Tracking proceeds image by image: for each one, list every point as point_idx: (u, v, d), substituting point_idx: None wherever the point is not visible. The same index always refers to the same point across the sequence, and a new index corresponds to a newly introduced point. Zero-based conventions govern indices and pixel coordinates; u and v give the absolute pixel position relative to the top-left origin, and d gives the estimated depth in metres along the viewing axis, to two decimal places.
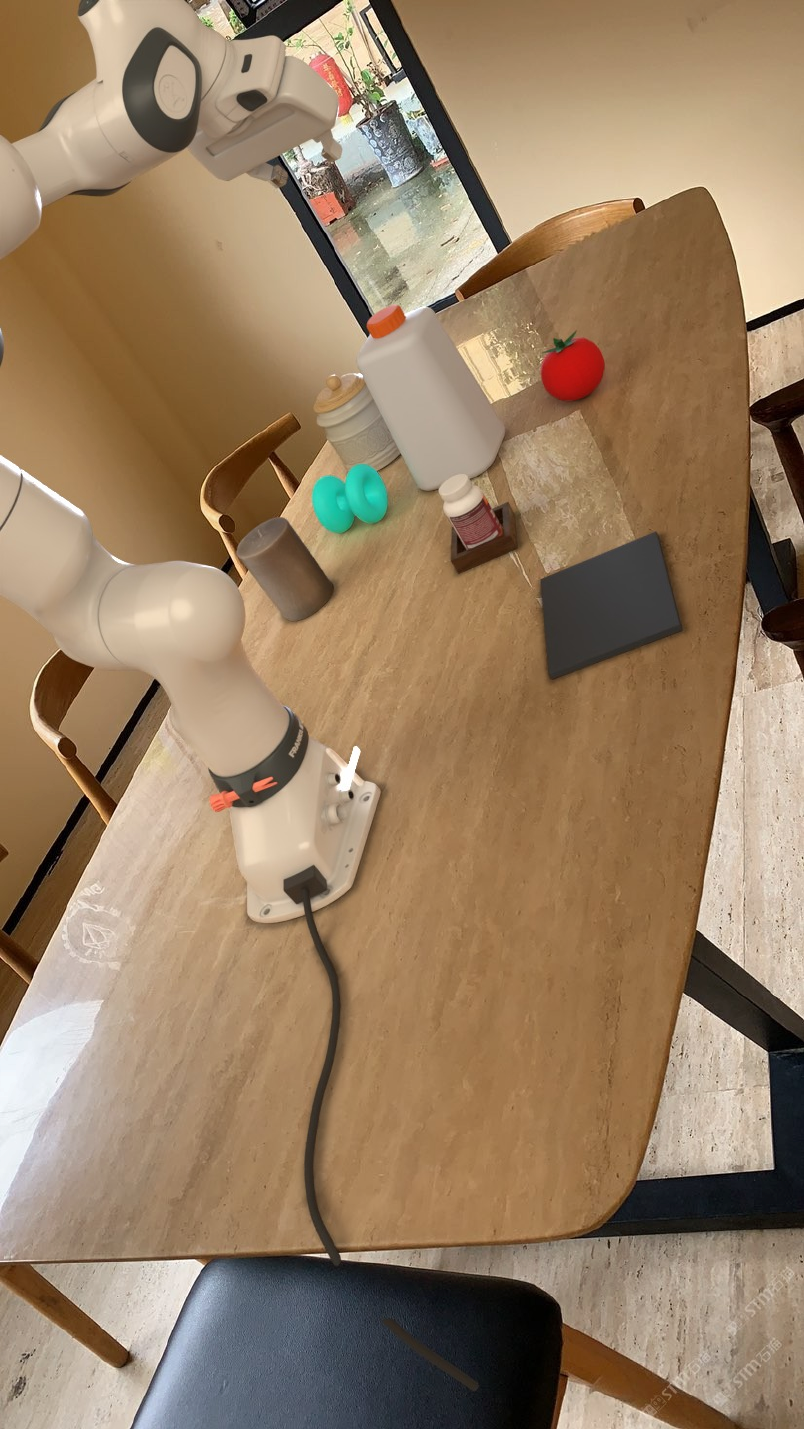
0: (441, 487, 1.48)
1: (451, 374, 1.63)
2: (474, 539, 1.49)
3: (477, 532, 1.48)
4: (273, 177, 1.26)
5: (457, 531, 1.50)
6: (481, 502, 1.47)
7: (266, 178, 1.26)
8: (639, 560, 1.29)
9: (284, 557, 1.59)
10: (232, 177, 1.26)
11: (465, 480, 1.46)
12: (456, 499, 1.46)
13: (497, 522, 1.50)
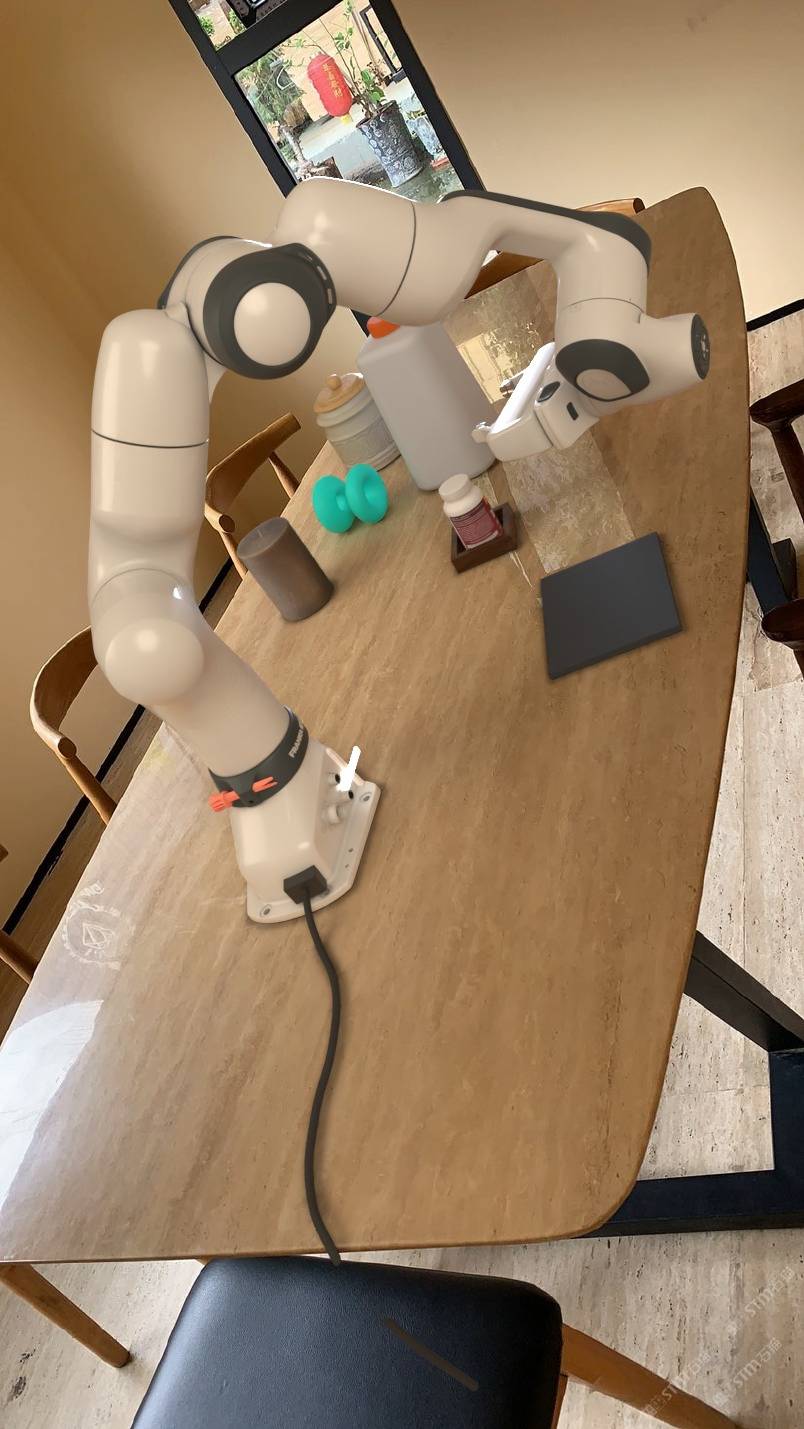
0: (441, 487, 1.48)
1: (451, 374, 1.63)
2: (474, 539, 1.49)
3: (477, 532, 1.48)
4: (510, 383, 1.35)
5: (457, 531, 1.50)
6: (481, 502, 1.47)
7: (514, 378, 1.35)
8: (639, 560, 1.29)
9: (284, 557, 1.59)
10: (537, 354, 1.34)
11: (465, 480, 1.46)
12: (456, 499, 1.46)
13: (497, 522, 1.50)
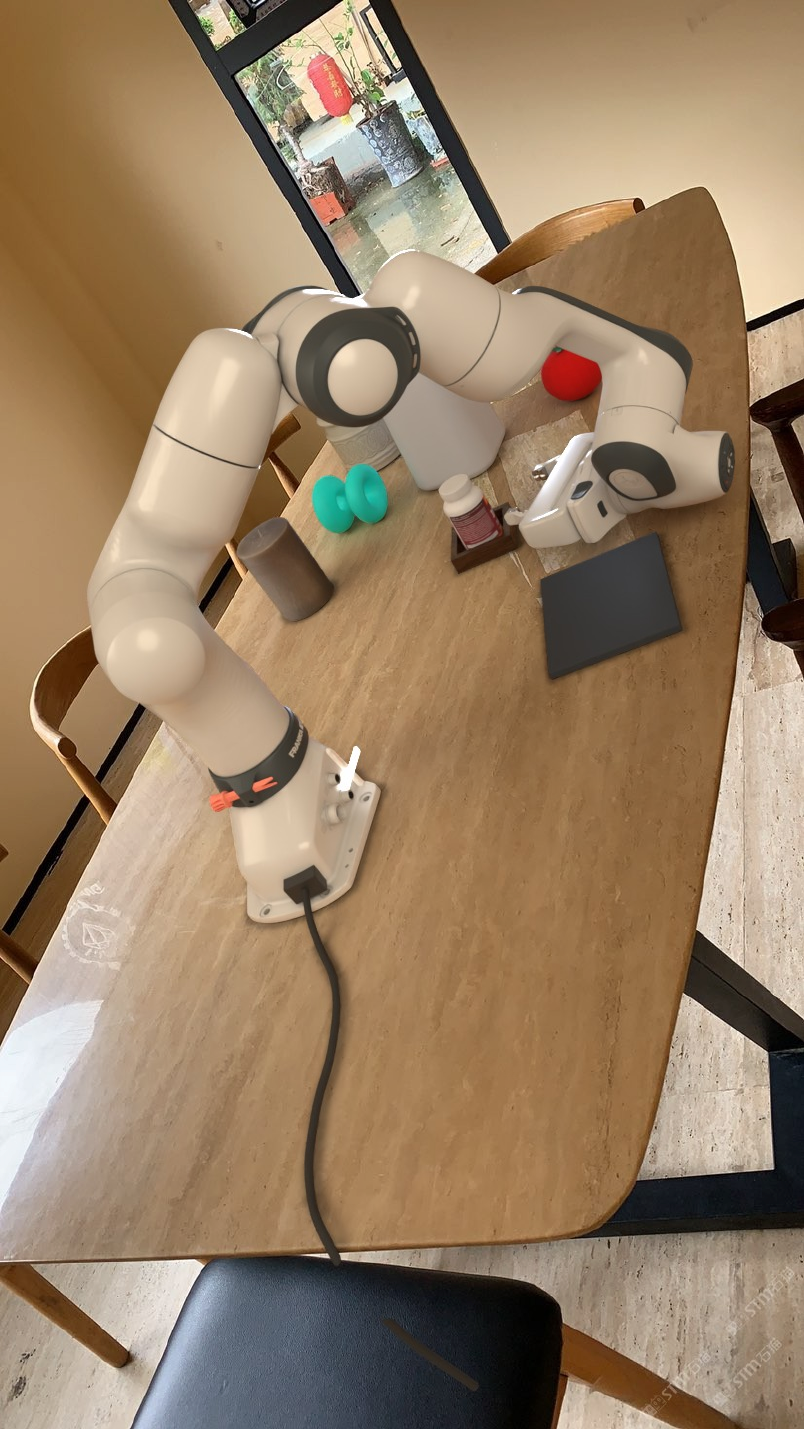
0: (441, 487, 1.48)
1: None
2: (474, 539, 1.49)
3: (477, 532, 1.48)
4: (542, 468, 1.43)
5: (457, 531, 1.50)
6: (481, 502, 1.47)
7: (547, 464, 1.43)
8: (639, 560, 1.29)
9: (284, 557, 1.59)
10: (570, 443, 1.42)
11: (465, 480, 1.46)
12: (456, 499, 1.46)
13: (497, 522, 1.50)
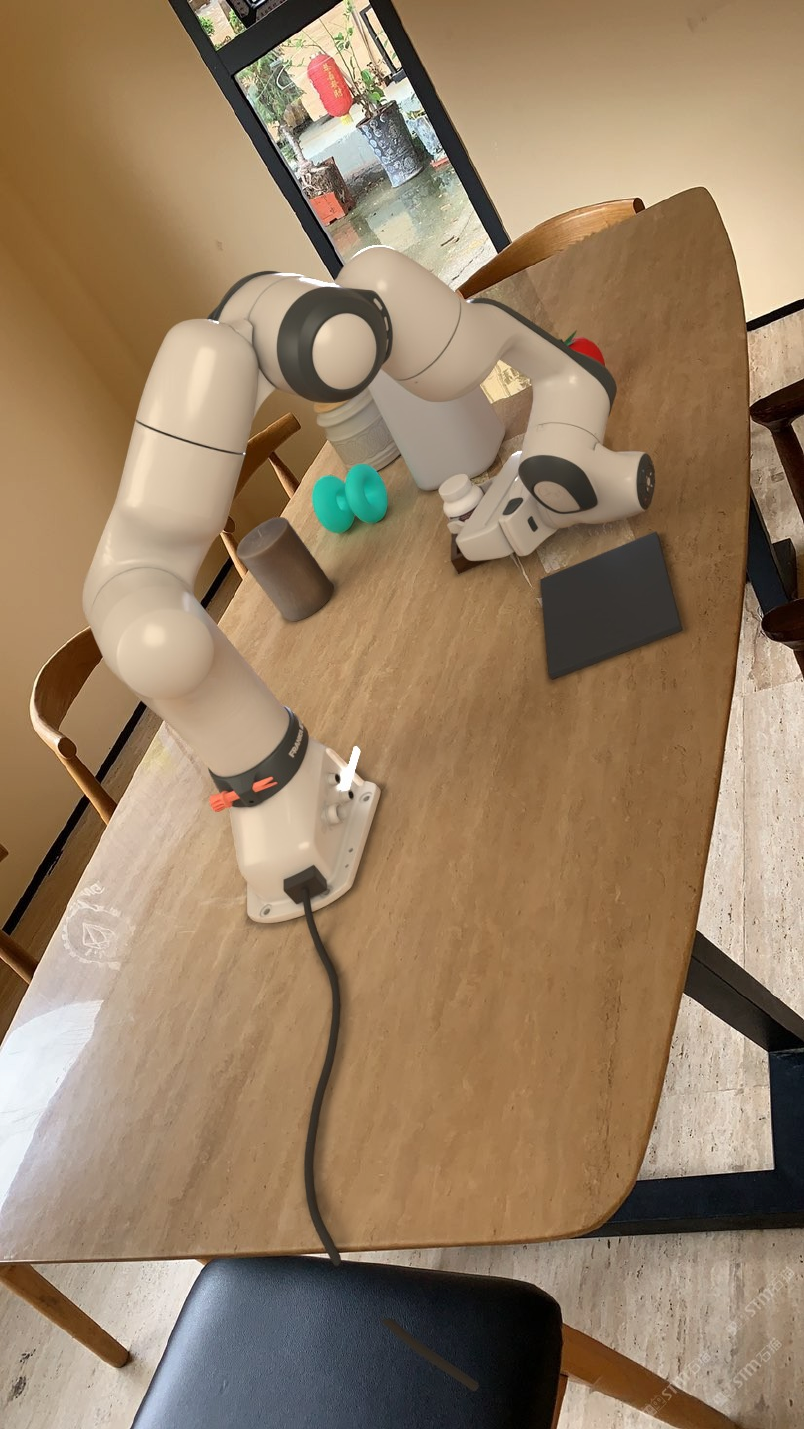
0: (441, 487, 1.48)
1: None
2: None
3: None
4: None
5: None
6: None
7: (483, 484, 1.50)
8: (639, 560, 1.29)
9: (284, 557, 1.59)
10: (507, 460, 1.49)
11: (465, 480, 1.46)
12: (456, 499, 1.46)
13: None
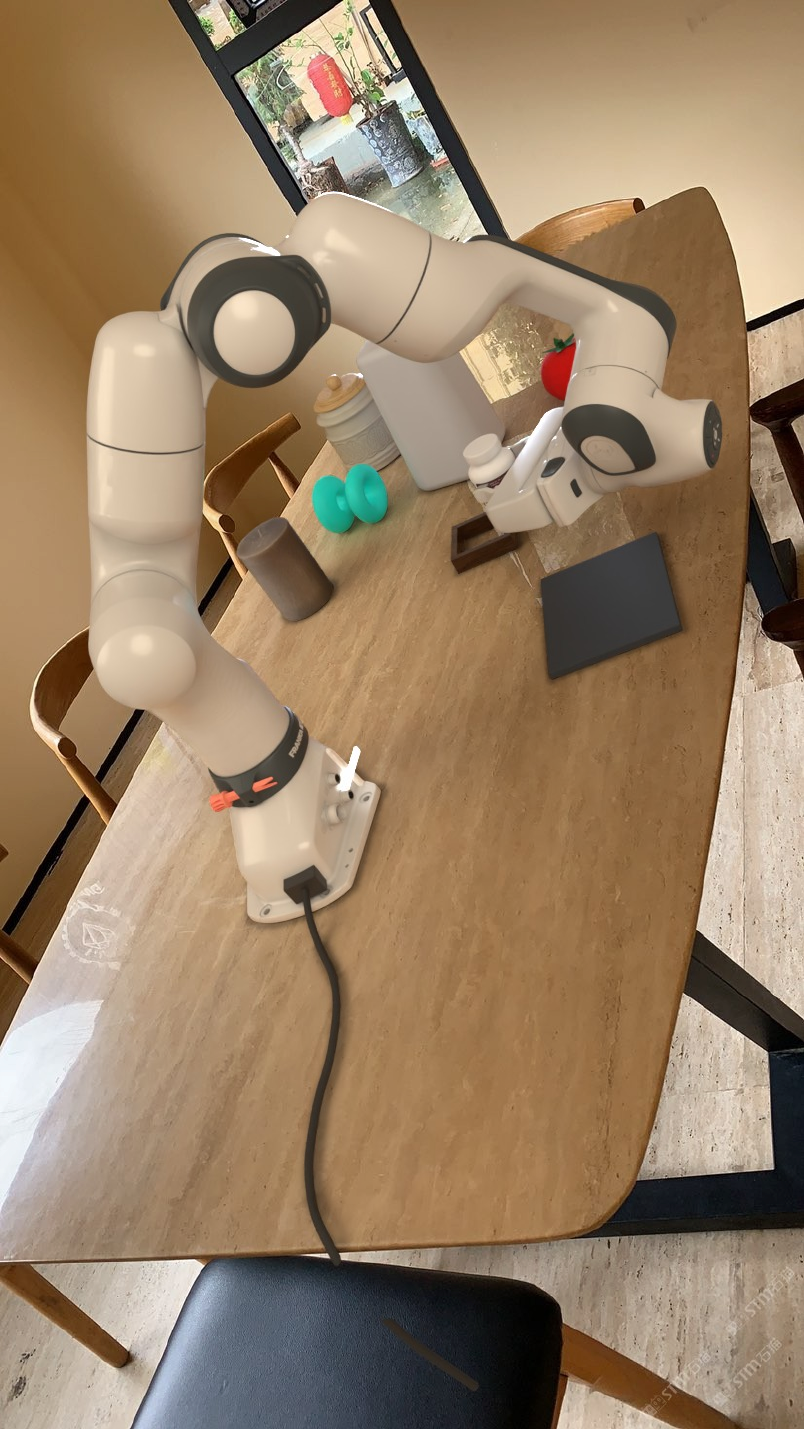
0: (466, 449, 1.28)
1: (451, 374, 1.63)
2: None
3: None
4: None
5: None
6: None
7: (515, 446, 1.30)
8: (639, 560, 1.29)
9: (284, 557, 1.59)
10: (542, 418, 1.29)
11: (494, 440, 1.25)
12: (484, 463, 1.26)
13: None
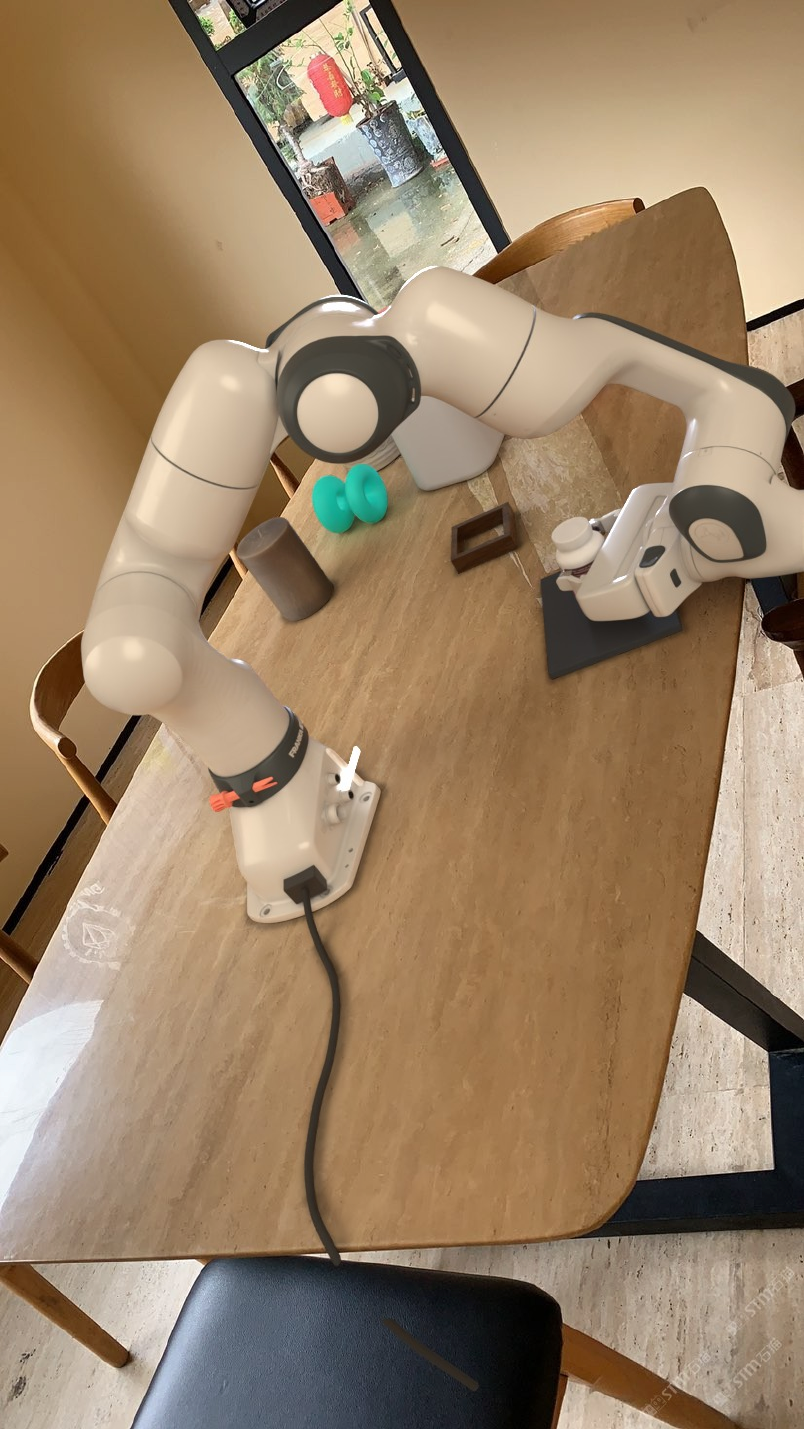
0: (554, 533, 1.22)
1: None
2: None
3: None
4: (599, 524, 1.24)
5: None
6: None
7: (604, 518, 1.24)
8: None
9: (284, 557, 1.59)
10: (631, 495, 1.23)
11: (585, 525, 1.20)
12: (574, 548, 1.20)
13: None
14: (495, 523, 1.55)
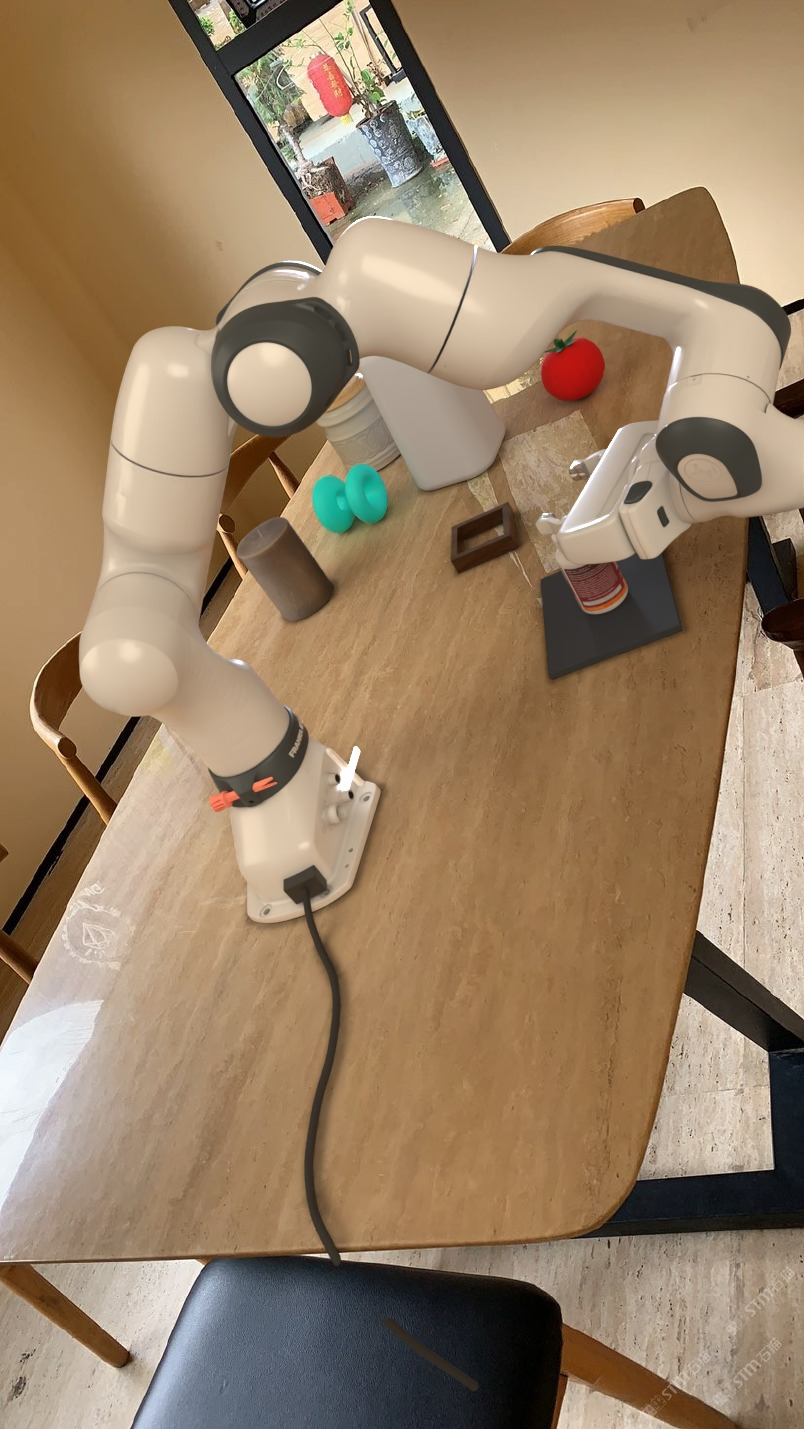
0: None
1: None
2: (594, 595, 1.23)
3: (597, 587, 1.23)
4: (582, 465, 1.16)
5: (572, 585, 1.24)
6: None
7: (588, 459, 1.16)
8: (639, 560, 1.29)
9: (284, 557, 1.59)
10: (617, 434, 1.15)
11: None
12: None
13: (620, 574, 1.24)
14: (495, 523, 1.55)
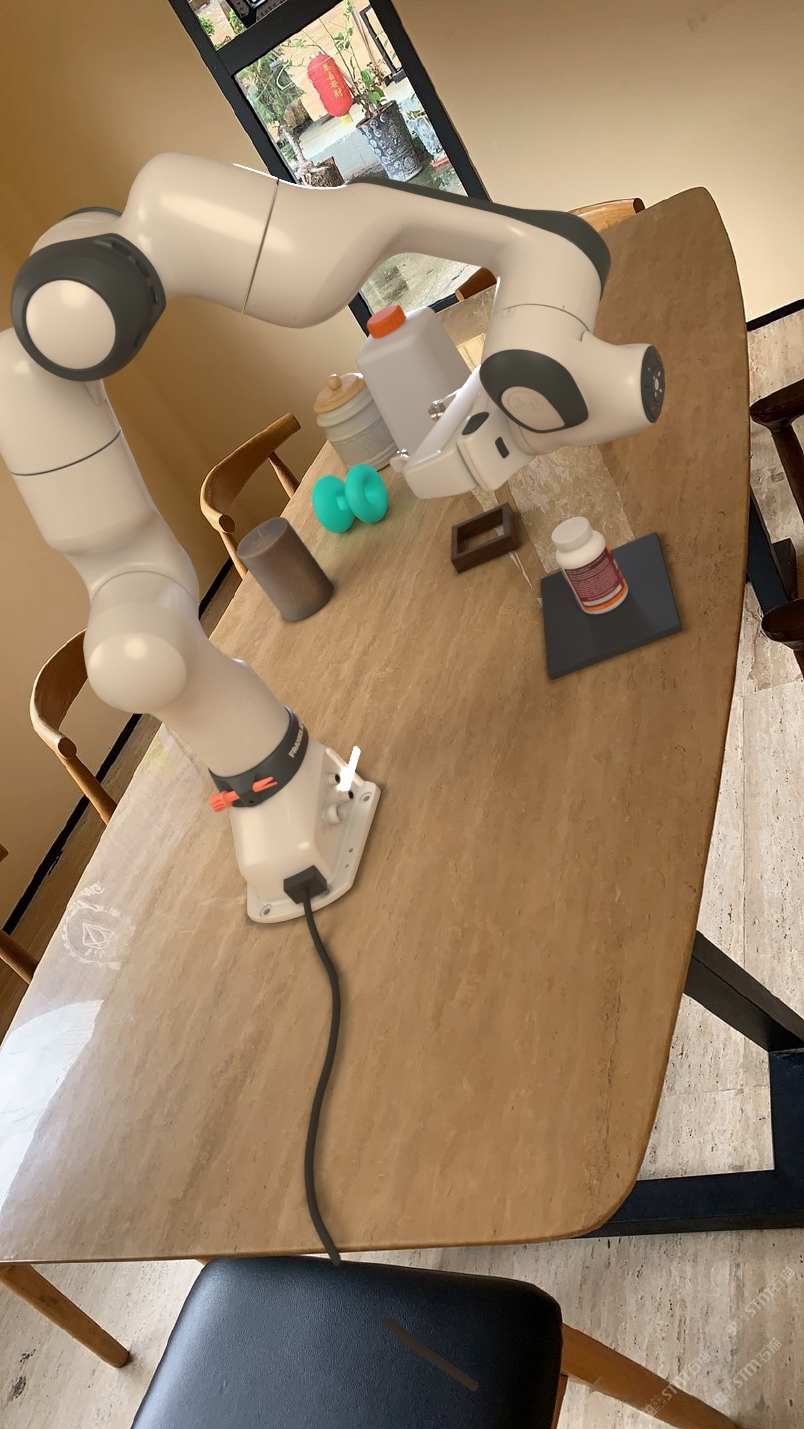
0: (554, 533, 1.22)
1: (451, 374, 1.63)
2: (594, 595, 1.23)
3: (597, 587, 1.23)
4: (440, 405, 1.16)
5: (572, 585, 1.24)
6: (604, 551, 1.21)
7: (445, 399, 1.16)
8: (639, 560, 1.29)
9: (284, 557, 1.59)
10: (473, 373, 1.15)
11: (585, 525, 1.20)
12: (574, 548, 1.20)
13: (620, 574, 1.24)
14: (495, 523, 1.55)
